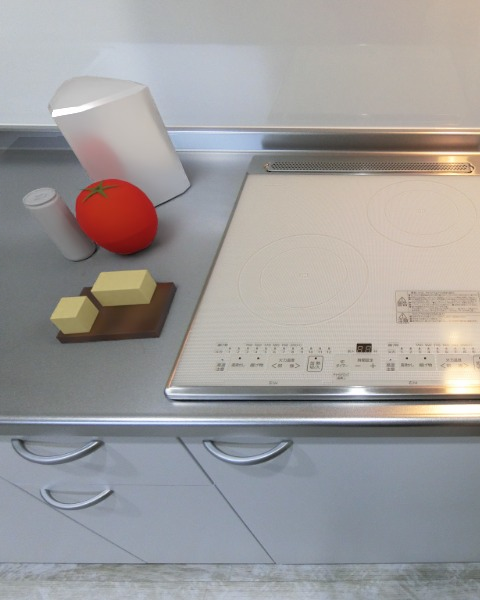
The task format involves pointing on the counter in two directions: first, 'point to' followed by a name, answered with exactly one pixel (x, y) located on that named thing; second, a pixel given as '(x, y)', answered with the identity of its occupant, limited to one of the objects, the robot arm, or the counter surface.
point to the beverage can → (59, 223)
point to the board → (126, 318)
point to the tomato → (117, 216)
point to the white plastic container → (119, 134)
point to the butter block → (124, 288)
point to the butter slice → (74, 315)
